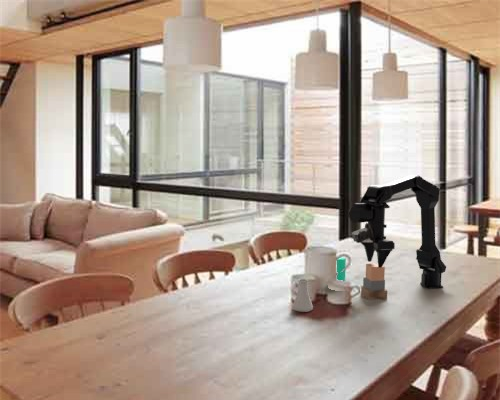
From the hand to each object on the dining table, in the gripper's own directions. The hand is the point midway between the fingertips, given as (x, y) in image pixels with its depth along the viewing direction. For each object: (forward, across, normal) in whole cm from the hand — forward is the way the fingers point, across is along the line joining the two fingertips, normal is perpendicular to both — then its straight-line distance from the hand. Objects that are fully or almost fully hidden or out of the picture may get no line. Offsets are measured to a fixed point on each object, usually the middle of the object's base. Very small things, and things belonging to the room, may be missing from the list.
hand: (374, 264), depth 194 cm
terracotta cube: (+5, 0, 0) cm, 5 cm away
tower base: (+12, -1, 0) cm, 12 cm away
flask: (+12, +9, -29) cm, 33 cm away
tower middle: (+9, -1, 0) cm, 9 cm away
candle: (+12, -19, -7) cm, 24 cm away
